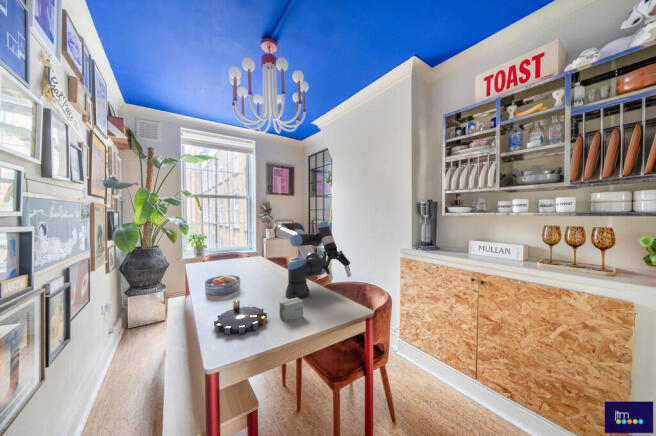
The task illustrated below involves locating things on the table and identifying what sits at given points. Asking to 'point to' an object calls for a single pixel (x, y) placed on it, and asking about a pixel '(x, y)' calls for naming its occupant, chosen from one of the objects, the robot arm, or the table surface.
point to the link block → (291, 309)
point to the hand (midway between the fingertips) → (340, 278)
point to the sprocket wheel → (240, 319)
